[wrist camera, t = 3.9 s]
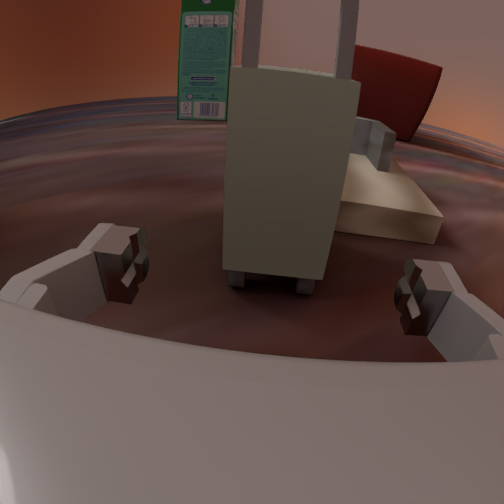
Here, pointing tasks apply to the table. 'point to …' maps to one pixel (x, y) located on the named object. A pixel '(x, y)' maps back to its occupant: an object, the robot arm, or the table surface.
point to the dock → (383, 191)
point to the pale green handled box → (286, 158)
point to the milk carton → (206, 58)
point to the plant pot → (394, 88)
